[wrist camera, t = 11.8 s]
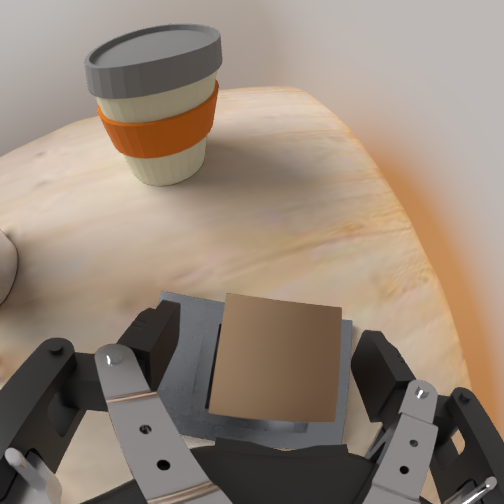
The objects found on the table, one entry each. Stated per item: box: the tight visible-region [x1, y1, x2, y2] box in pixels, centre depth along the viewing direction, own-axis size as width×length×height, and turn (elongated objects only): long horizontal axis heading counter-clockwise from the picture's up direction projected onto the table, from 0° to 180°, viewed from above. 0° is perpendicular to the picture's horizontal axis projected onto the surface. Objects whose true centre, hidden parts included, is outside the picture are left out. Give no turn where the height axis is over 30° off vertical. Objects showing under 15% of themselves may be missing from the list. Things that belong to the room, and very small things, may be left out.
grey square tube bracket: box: [156, 291, 352, 449], centre depth 17 cm, size 16×11×6 cm
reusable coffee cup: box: [84, 24, 222, 186], centre depth 23 cm, size 12×13×15 cm
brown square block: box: [209, 293, 342, 422], centre depth 12 cm, size 4×4×12 cm
